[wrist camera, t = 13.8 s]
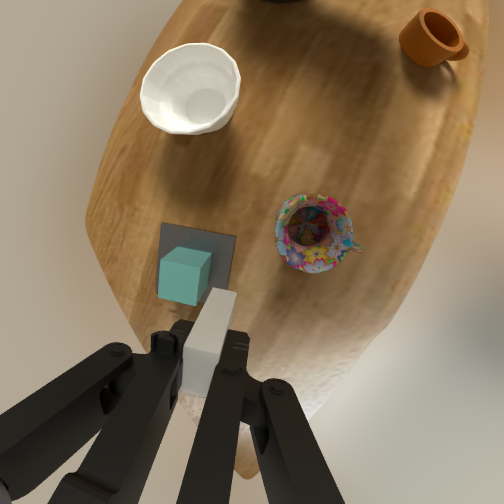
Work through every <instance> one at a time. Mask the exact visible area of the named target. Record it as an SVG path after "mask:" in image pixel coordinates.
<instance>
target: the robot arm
mask: <svg viewBox="0 0 504 504" xmlns="http://www.w3.org/2000/svg"><path fill="white" fill-rule="evenodd" d="M263 1H268V2H279V3H283V2H294V1H298V0H263ZM236 296H237V292H233V291H228V290H223V289H218V288H214V287H213V288H212V290H211V292H210V294H209V296H208V298H207V300H206V302H205V304H204V306H203V308H202V310H201V312H200V314H199V316H198V318H197V320H196V322H191V321H186V320H182V319H181V320H179V321H177V322H175V323H174V325H173V326H172V328H171V329H170V331H157V332H154V333H153V334H152V335H151V351H150V353H149V354H136V353H132V350H131V348H130V347H129V346H128V345H126V344H124V343H119V342H114V343H110V344H107V345H105V346H104V347H103V348H101V349H99V350H98V351H96V352H95V353H93V354H92V355H90V356H89V357H87V358H86V359H84V360H83V361H82V362H80V363H78V364H77V365H75V366H74V367H72V368H71V369H69V370H68V371H66V372H65V373H63V374H61V375H60V376H58V377H57V378H55V379H54V380H52V381H51V382H49V383H48V384H46V385H45V386H43V387H42V388H40V389H39V390H37V391H36V392H35V393H33V394H31V395H30V396H28V397H27V398H25V399H24V400H22V401H21V402H19V403H18V404H16V405H15V406H13V407H12V408H10V409H9V410H7V411H6V412H4V413H3V414H1V415H0V504H11V501H14V500H17V499H19V498H21V497H23V496H25V495H27V494H28V493H30V492H31V491H32V490H34V489H35V488H36V487H37V486H38V485H40V484H41V483H42V482H43V481H44V480H45V479H47V478H48V477H49V476H50V475H51V474H52V473H53V472H55V471H56V470H57V469H58V468H59V467H60V466H61V465H62V464H63V463H64V462H66V461H67V460H68V459H69V458H70V457H71V456H72V455H73V454H74V453H76V452H77V451H78V450H79V449H80V448H81V447H82V446H83V445H85V443H87V442H88V441H89V440H90V439H91V438H92V437H93V436H94V435H95V434H97V433H98V432H99V431H100V430H101V429H102V430H101V431H100V433H99V435H98V436H97V438H96V440H95V441H94V443H93V445H92V446H91V448H90V450H89V452H88V453H87V455H86V457H85V458H84V460H83V462H82V463H81V465H80V467H79V469H78V470H77V471H76V472H74V473H68V474H66V475H65V476H64V477H63V478H62V480H61V481H60V483H59V485H58V486H57V488H56V490H55V491H54V493H53V495H52V497H51V499H50V500H49V502H48V504H138V502H139V499H140V496H141V494H142V491H143V488H144V486H145V483H146V480H147V478H148V475H149V472H150V470H151V467H152V464H153V462H154V459H155V457H156V454H157V452H158V449H159V446H160V444H161V441H162V439H163V436H164V433H165V431H166V428H167V425H168V423H169V420H170V418H171V415H172V413H173V410H174V408H175V405H176V403H177V400H178V391H179V389H180V386H181V392H183V393H187V394H191V395H195V396H199V397H203V398H206V401H205V404H204V408H203V411H202V415H201V418H200V422H199V425H198V429H197V432H196V436H195V439H194V443H193V446H192V450H191V453H190V457H189V460H188V463H187V467H186V471H185V474H184V478H183V481H182V485H181V489H180V492H179V496H178V499H177V502H176V504H229V498H230V491H231V484H232V477H233V470H234V463H235V456H236V448H237V441H238V434H239V426H240V421H241V422H244V423H246V424H248V425H250V431H251V435H252V440H253V444H254V448H255V452H256V456H257V460H258V464H259V468H260V472H261V475H262V479H263V483H264V487H265V490H266V494H267V498H268V502H269V504H345V502H344V500H343V498H342V496H341V494H340V492H339V489H338V487H337V485H336V483H335V481H334V479H333V476H332V474H331V472H330V470H329V468H328V466H327V464H326V461H325V459H324V457H323V455H322V453H321V450H320V448H319V446H318V444H317V441H316V439H315V437H314V435H313V432H312V430H311V428H310V426H309V423H308V421H307V419H306V417H305V414H304V412H303V410H302V408H301V405H300V403H299V401H298V399H297V396H296V394H295V392H294V389H293V388H292V386H291V385H290V384H289V383H287V382H286V381H284V380H281V379H275V378H273V379H268V380H266V381H264V382H260V381H258V380H256V379H254V378H252V377H251V376H250V375H249V374H248V372H247V370H246V366H247V358H248V350H249V342H250V338H249V336H248V334H247V333H245V332H240V331H235V330H230V329H231V323H232V318H233V312H234V307H235V301H236Z"/></svg>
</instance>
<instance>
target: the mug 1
mask: <svg viewBox="0 0 504 504" xmlns="http://www.w3.org/2000/svg"><path fill="white" fill-rule="evenodd" d="M275 243H276V246H277V249H278V252H279V254H280V255H281V257H282V258H283V259H284V261H285V262H286V263H287V264H289V265H290V266H291V267H293V268H294V269H296V270H299V271H301V272H305V273H321V272H325V271H328V270H330V269H332V268H334V267H335V266H337V265H338V264H339V263H340V262H341V261H342V260H343V259H344V258H345V257H346V255H347V254H348V252H349V250H353V251H355V252H358V253H362V252H363V250H364V248H363V247H362V246H360V245H359V244H357V243H355V242H353V225H352V221H351V218H350V216H349V214H348V212H347V211H346V209H345V208H344V207H343V206H342V205H341V204H340V203H339V202H337V201H336V200H334V199H333V198H330V197H328V196H325V195H319V194H299V195H295V196H293V197H291V198H289V199H288V200H287V201H285V202H284V203H283V205H282V206H281V207H280V209H279V211H278V214H277V218H276V226H275Z"/></svg>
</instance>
